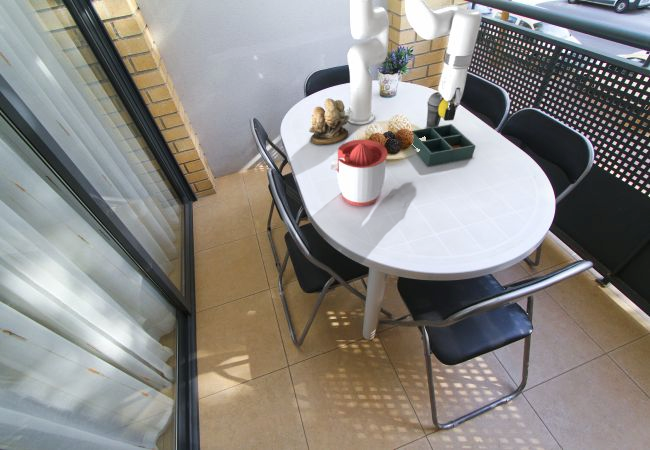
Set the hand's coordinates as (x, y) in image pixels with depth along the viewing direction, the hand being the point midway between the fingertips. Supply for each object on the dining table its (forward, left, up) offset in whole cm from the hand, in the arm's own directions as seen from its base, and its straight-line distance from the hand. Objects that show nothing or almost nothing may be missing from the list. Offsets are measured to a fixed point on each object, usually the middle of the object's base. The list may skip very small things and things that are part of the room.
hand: (445, 115), depth 108 cm
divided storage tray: (+3, +6, -17) cm, 18 cm away
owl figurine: (-39, +23, -18) cm, 49 cm away
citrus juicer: (-32, -18, -18) cm, 41 cm away
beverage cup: (+5, +23, -18) cm, 29 cm away
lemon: (0, 0, -2) cm, 2 cm away
